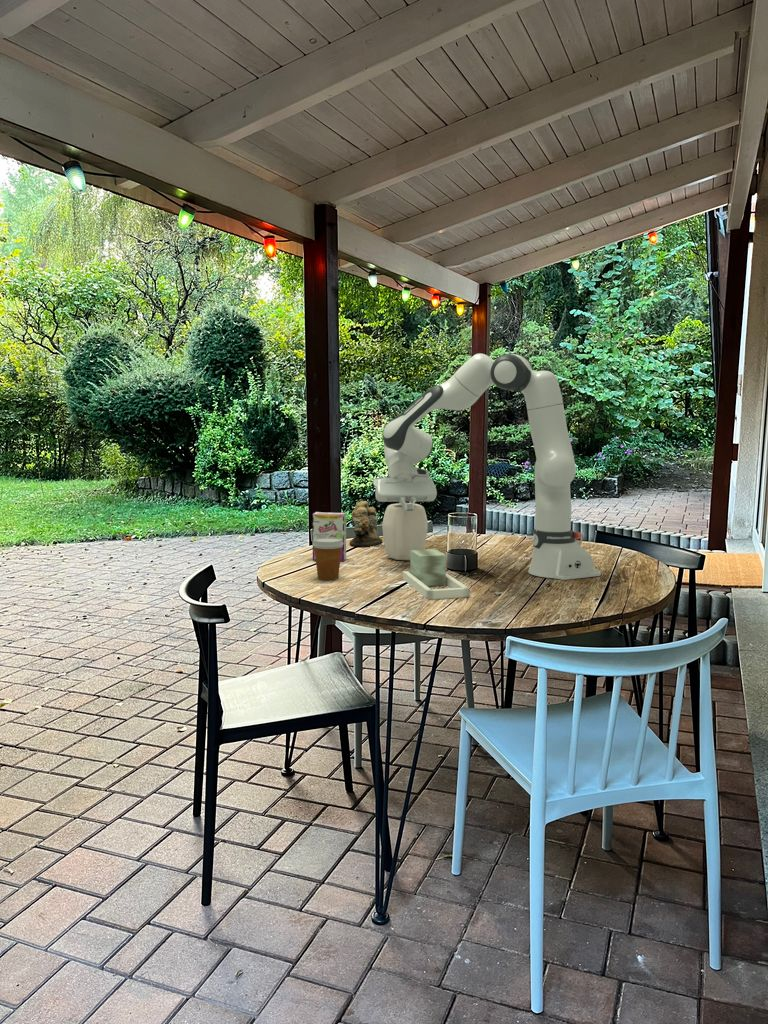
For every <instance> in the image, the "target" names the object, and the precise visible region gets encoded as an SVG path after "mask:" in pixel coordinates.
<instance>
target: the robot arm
mask: <svg viewBox="0 0 768 1024" xmlns="http://www.w3.org/2000/svg"><path fill="white" fill-rule="evenodd" d="M493 385H495V386H496V387H497V388H499V389H500V390H505V391H510V392H511V391H514V392H520V393H522V395H523V396H524V399H525V404H526V410H527V411H526V412H527V418H528V424H529V429H530V431H529V432H530V436H531V439H532V440H531V441H532V443H533V448H534V453H535V457H536V460H535V463H534V494H535V495H534V496H535V498H534V499H535V500H534V501H535V507H534V508H535V511H534V512H535V513H534V514H535V515H534V517H535V518H534V528H533V533H532V547H533V549H532V555H531V561H530V565H529V568H528V571H527V573H528V574H530V575H532V576H536V577H540V578H546V579H547V578H548V579H555V580H556V579H557V580H562V581H565V580H567V581H568V580H575V579H585V578H590V577H591V578H592V577H600V576H601V573H602V572H601V571H600V570H599V569H597V568H595V566H594V559H593V556H592V554H591V553H590V552H589V551H587V550H586V549H585V548H584V547H582V545H580V544H579V543H578V542H576V539H577V540H579V539H581V538H582V537H583V534H582V532H580V531H574V530H572V529H571V528H572V507H573V505H572V499H571V497H572V495H571V483H572V482H573V480H574V478H575V477H576V474H577V467H576V461H575V456H574V451H573V446H572V444H571V443H572V442H571V439H570V436H569V435H570V434H569V431H568V426H567V425H568V424H567V419H566V413H565V408H564V407H565V406H564V400H563V396H562V392H561V388H560V385H559V381H558V379H557V376H556V375H555V374H554V373H553V372H552V371H549V370H537V371H536V370H534V367H533V365H532V363H531V361H530V360H529V359H528V358H527V357H524V356H522V355H520V354H516V353H507V354H502V355H500V356H499V357H497V358H496V359H493V358H492V357H490V356H489V355H487V354H485V353H480V352H479V353H475V354H474V355H473V356H471V357H470V358H468V359H467V360H466V361H465V362H464V363H463V364H462V365H461V366H460V367H459V368H458V369H457V370H456V371H455V373H454V374H453V375H452V376H451V377H450V378H448V379H447V380H446V381H444V382H442V383H441V384H437V385H433V386H431V387H430V388H428V389H427V390H426V391H425V392H423V393H422V394H421V395H420V396H419V397H418V398H416V399H415V401H413V402H412V403H411V404H410V405H409V406H408V407H407V408H406V409H404V410H403V411H402V412H401V413H400V414H398V415H397V416H396V417H394V418H393V419H391V420H389V421H388V422H387V423H386V424H385V426H384V427H383V430H382V440H383V444H384V448H383V450H384V454H383V455H384V460H385V464H386V466H387V473H388V476H377V477H375V478H374V479H373V480H372V483H373V486H374V488H375V500H376V501H378V502H380V503H381V502H382V503H385V502H390V503H392V502H397V503H400V504H401V505H402V506H403V507H404V510H405V511H414V504H416V502H434V501H435V500H436V499H437V494H438V491H437V487H436V485H435V483H434V481H433V479H432V478H431V477H430V472H429V470H427V469H423V468H419V467H417V466H414V465H417V464H419V463H421V462H423V461H424V460H425V459H427V458H429V456H430V455H431V454H432V452H433V448H434V441H433V437H432V436H431V434H429V433H427V432H425V431H423V430H421V429H419V428H417V427H415V425H416V424H417V423H418V422H419V421H420V420H422V419H423V418H424V417H426V416H427V414H429V413H430V412H432V411H434V410H435V411H437V410H451V411H464V410H467V409H469V408H470V407H471V406H473V405H474V404H475V403H476V402H477V401H478V400H479V399H480V397H481V396H482V395H483V394H484V393H485V392H486V390H488V388H490V387H491V386H493ZM407 502H409V503H412V504H407Z"/></svg>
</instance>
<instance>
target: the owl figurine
mask: <svg viewBox="0 0 768 1024" xmlns="http://www.w3.org/2000/svg"><path fill="white" fill-rule="evenodd" d="M351 519H352V520H351V522H352V525H353V526H354V529H353V532H354V533H355V536H354V537H353V538H352V540H350V541H349V545H351V547H360V548H361V547H362V548H371V547H370V546H373V547H376V546H377V545H378V546H380V545H382V544H383V539H382V538H381V537H380V535H379V526H378V515H377V510H376V508H375V507H374V506H370V507H369V502H368V501H366V500H361V501H359V502H357V503H356V504H355V506H354V509H353V510H352V511H351ZM381 543H382V544H381ZM379 544H380V545H379Z"/></svg>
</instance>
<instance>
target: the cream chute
mask: <svg viewBox="0 0 768 1024" xmlns="http://www.w3.org/2000/svg"><path fill="white" fill-rule="evenodd" d="M402 580H403V581H404V582H406V583H407V584H408V585H410V586H411V587H412V588H413V589H414V590H416V592H418V593H419V594H421V595H422V597H424V598H425V599H426V600H440V599H441V600H444V599H460V598H461V599H462V598H469V599H470V597H471V596H470V595H471V589H470V587H468V586H467V585H465V584H464V583H462V582H461V581H459V580H457V579H456V578H455V577H453V576H451V575H450V574H448V573H447V572H446V585H447V586H448V587H449V588H436V589H435V588H434V589H432V588H430V586H426V585H425V584H424V583H422V582H421V581H420V580H418V579H417V578H416V577H414V576H413V575H412V574H411V573H410V571H409V570H406V571H405V570H403V571H402Z"/></svg>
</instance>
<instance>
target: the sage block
mask: <svg viewBox="0 0 768 1024" xmlns="http://www.w3.org/2000/svg"><path fill="white" fill-rule="evenodd" d="M409 562H410V566H409V567H410V568H409V573H411V574H412V575H413V576H414V577H416V578H417V579H418V580H420V581H421V582H422V583H424V584H425V585H426V586H427V587H436V586H446V585H447V584H446V573H447V554H445V553H443V552H442V551H439V550H438V549H436V548H429V549H425V548H424V550H410V560H409Z"/></svg>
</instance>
